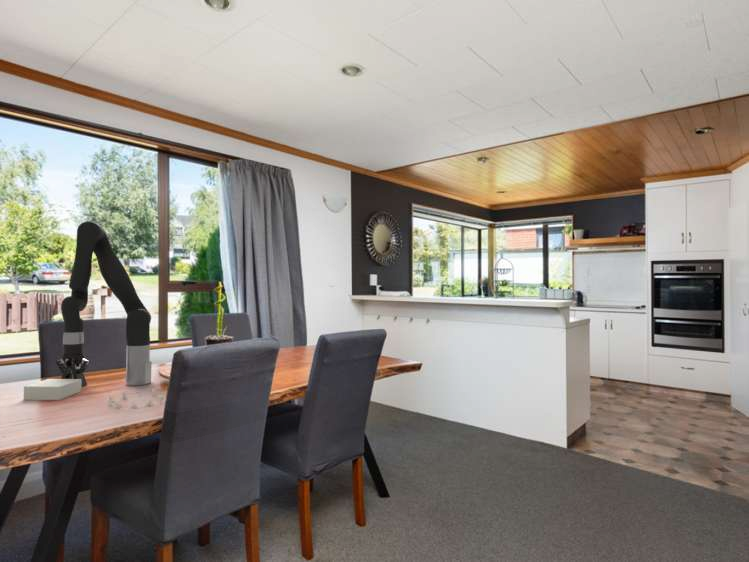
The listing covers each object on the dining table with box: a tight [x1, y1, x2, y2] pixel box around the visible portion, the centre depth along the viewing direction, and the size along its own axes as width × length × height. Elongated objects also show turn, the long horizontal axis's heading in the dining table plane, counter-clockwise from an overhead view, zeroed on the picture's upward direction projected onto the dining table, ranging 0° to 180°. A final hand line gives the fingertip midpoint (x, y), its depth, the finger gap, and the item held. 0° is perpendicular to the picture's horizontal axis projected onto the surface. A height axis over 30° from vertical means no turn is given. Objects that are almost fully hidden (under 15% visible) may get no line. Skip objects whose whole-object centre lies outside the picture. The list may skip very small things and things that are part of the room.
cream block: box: [23, 378, 82, 401], centre depth 179 cm, size 13×14×5 cm
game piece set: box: [106, 388, 164, 409], centre depth 172 cm, size 19×20×4 cm
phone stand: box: [60, 359, 88, 388], centre depth 194 cm, size 9×6×12 cm, turn 99°
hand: (72, 382), depth 194 cm, fingers closed on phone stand
